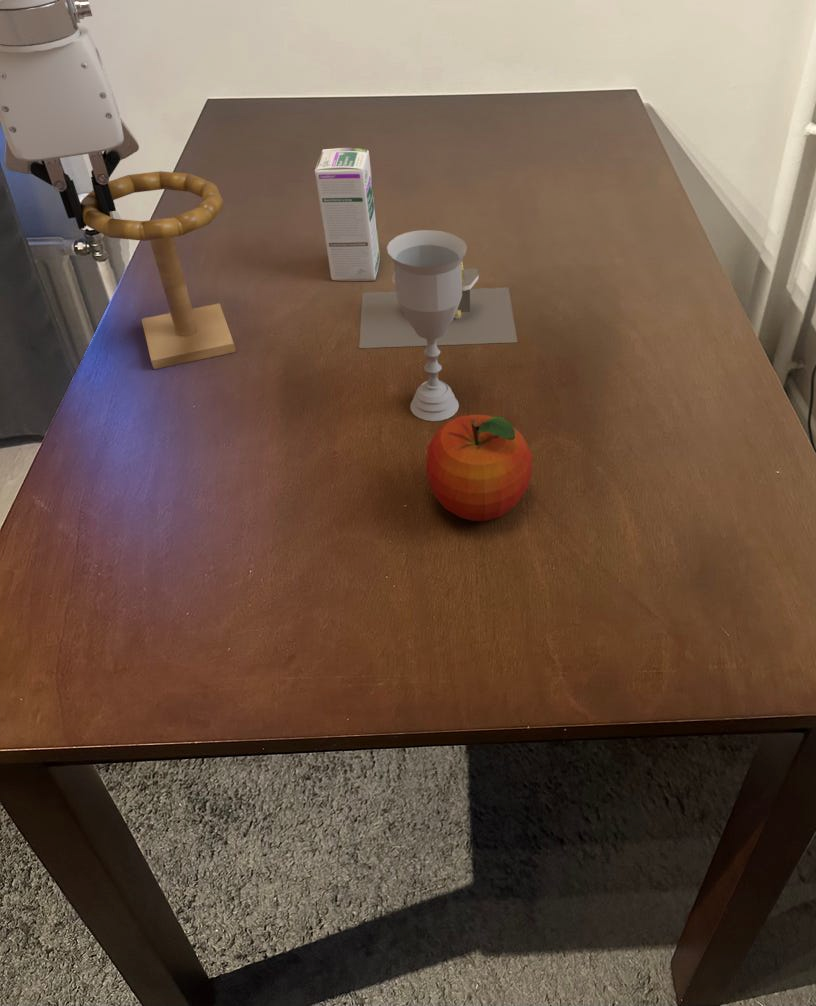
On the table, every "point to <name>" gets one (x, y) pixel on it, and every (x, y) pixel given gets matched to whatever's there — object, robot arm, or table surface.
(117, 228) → the ring
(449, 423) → the fruit
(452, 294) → the chalice
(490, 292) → the platform
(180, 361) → the post
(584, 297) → the table surface
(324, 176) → the syrup box
